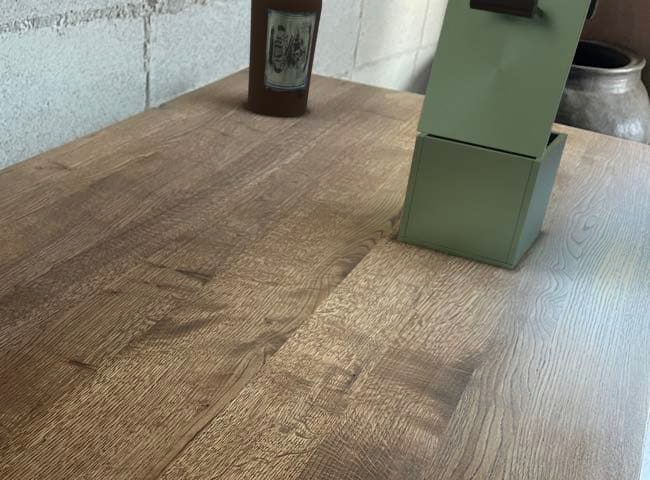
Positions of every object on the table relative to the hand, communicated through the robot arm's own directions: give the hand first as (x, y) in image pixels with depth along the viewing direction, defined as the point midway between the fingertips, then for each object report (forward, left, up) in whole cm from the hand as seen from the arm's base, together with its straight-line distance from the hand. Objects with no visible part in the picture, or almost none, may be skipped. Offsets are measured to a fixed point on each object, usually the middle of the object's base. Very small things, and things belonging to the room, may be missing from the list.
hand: (515, 44), depth 96 cm
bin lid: (0, +5, -2) cm, 5 cm away
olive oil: (+42, -34, -21) cm, 58 cm away
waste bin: (0, 0, -21) cm, 21 cm away
